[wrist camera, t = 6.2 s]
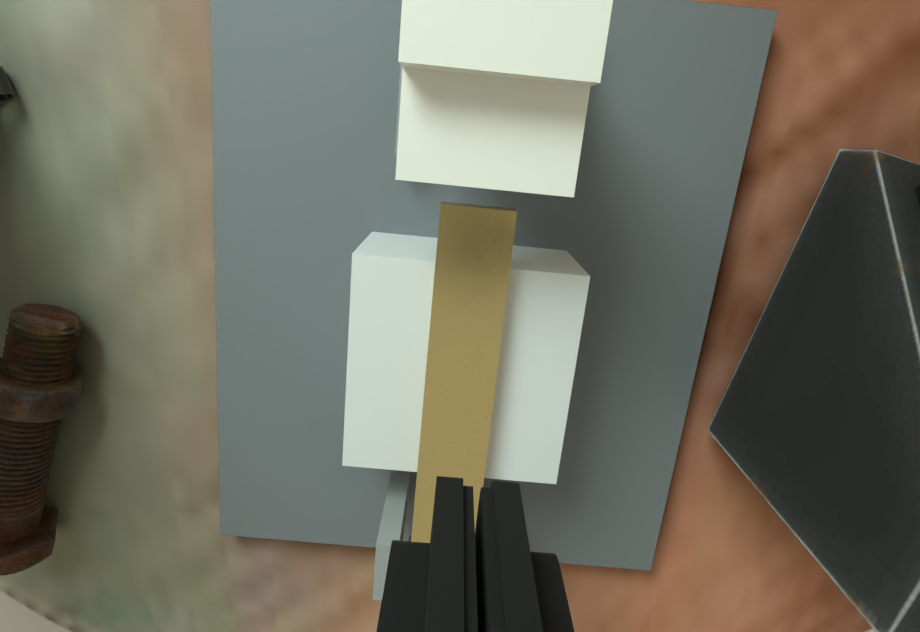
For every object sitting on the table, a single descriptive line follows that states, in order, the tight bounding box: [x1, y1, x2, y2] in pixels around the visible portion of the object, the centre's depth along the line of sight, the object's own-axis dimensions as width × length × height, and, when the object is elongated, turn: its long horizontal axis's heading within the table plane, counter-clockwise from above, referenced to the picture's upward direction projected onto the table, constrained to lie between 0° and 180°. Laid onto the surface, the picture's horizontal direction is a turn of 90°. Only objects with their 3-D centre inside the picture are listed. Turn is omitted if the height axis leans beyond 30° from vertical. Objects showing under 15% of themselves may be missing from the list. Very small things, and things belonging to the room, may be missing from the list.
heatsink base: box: [210, 0, 777, 601], centre depth 29 cm, size 31×26×10 cm
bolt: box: [0, 303, 83, 575], centre depth 33 cm, size 6×5×15 cm
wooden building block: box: [409, 201, 517, 543], centre depth 26 cm, size 15×3×11 cm
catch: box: [395, 0, 613, 197], centre depth 23 cm, size 6×6×11 cm
